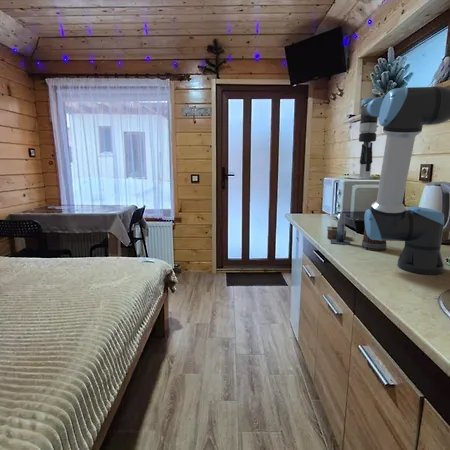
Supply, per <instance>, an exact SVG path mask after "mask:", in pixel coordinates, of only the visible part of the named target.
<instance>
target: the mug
mask: <svg viewBox="0 0 450 450" xmlns="http://www.w3.org/2000/svg"><path fill="white" fill-rule="evenodd" d="M361 241H362V242H361V247H362V248H363V249H364V250H366V251H367V250H368V251H374V252H375V251H376V252H381V251H385V250H386V249H387V241H383V240H382V241H380V240H372V239H370V238H369V237H368V236H367V233H366V229H365V228H364V231H363V237H362V240H361Z"/></svg>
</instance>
